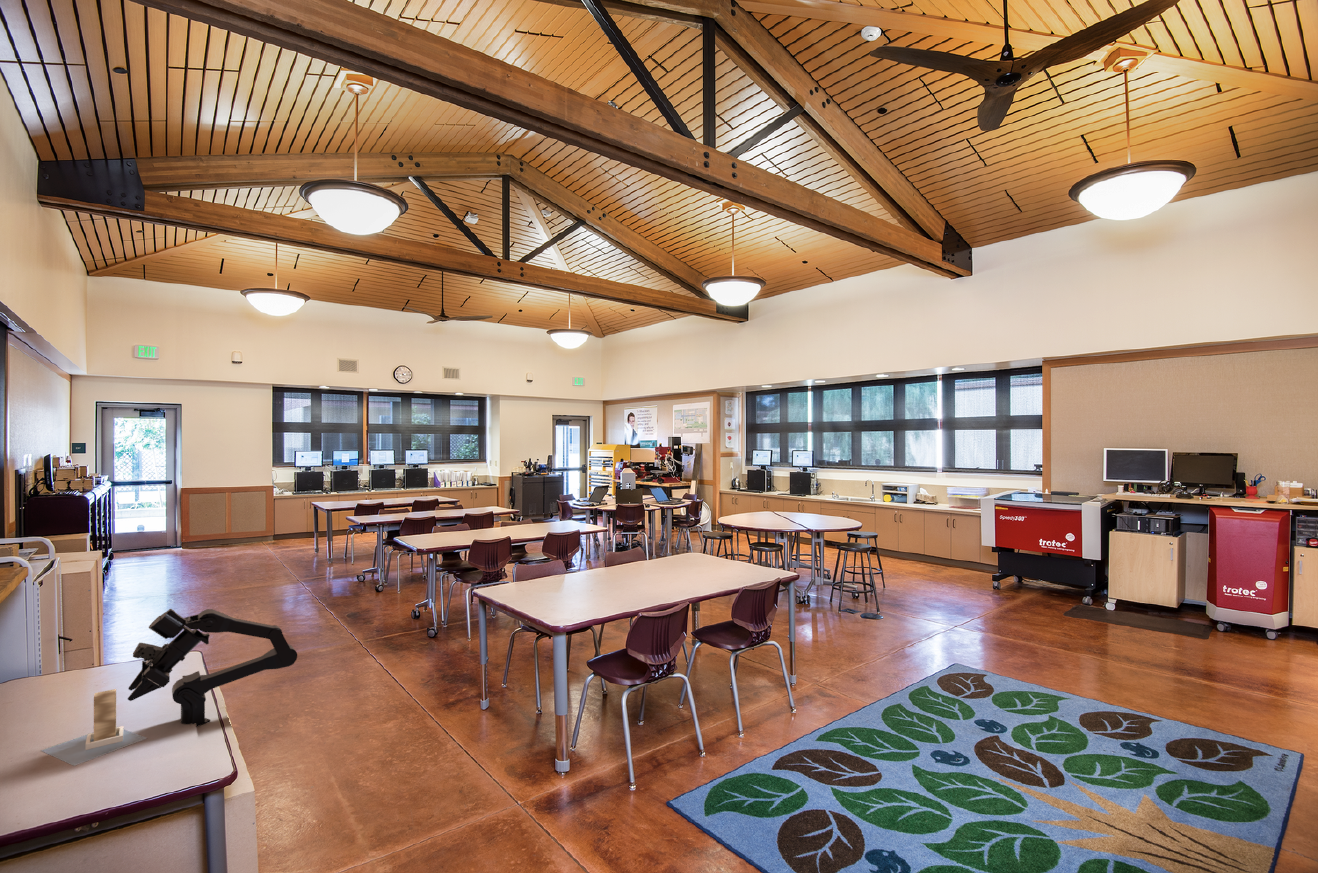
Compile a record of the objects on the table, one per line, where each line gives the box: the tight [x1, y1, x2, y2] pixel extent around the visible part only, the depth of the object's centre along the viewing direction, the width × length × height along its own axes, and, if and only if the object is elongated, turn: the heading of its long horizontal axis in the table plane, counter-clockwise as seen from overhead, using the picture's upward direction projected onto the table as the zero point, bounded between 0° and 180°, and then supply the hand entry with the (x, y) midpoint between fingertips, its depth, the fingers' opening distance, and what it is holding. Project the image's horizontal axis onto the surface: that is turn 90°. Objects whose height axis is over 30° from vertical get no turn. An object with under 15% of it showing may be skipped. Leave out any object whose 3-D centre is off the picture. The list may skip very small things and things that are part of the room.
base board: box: [40, 725, 148, 767], centre depth 169 cm, size 18×16×1 cm
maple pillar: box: [93, 688, 117, 741], centre depth 171 cm, size 4×4×13 cm
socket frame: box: [85, 725, 125, 750], centre depth 171 cm, size 8×8×2 cm
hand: (129, 694), depth 175 cm, fingers open, 9 cm apart
